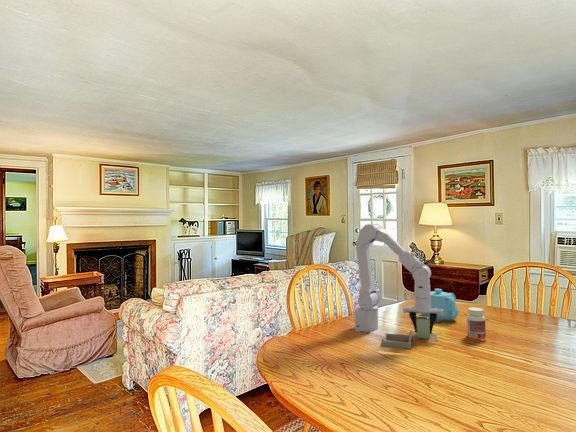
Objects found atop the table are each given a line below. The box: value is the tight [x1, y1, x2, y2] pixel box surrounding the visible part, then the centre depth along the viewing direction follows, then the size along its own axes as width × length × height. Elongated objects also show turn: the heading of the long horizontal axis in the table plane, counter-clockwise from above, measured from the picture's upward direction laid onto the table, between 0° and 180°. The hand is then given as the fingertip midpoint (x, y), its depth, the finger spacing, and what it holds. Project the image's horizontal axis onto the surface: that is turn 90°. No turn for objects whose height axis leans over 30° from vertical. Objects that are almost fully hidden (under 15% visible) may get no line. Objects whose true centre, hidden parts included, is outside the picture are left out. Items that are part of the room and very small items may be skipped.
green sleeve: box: [416, 315, 430, 339], centre depth 140 cm, size 5×5×7 cm
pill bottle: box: [466, 307, 487, 342], centre depth 138 cm, size 6×6×11 cm
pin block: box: [409, 331, 439, 343], centre depth 140 cm, size 10×10×4 cm
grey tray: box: [382, 332, 412, 350], centre depth 133 cm, size 9×9×2 cm
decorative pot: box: [421, 288, 459, 323], centre depth 167 cm, size 16×16×14 cm
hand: (423, 332), depth 140 cm, fingers closed on green sleeve, 5 cm apart
